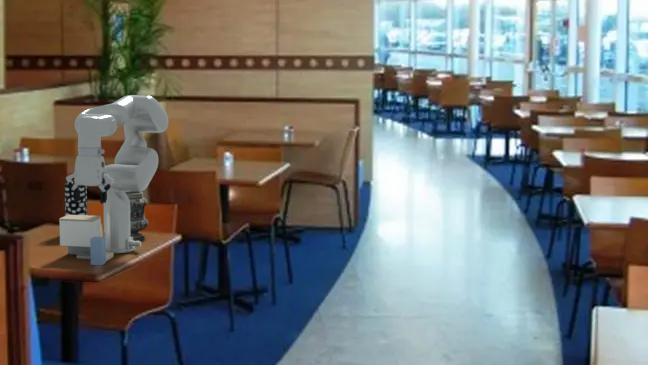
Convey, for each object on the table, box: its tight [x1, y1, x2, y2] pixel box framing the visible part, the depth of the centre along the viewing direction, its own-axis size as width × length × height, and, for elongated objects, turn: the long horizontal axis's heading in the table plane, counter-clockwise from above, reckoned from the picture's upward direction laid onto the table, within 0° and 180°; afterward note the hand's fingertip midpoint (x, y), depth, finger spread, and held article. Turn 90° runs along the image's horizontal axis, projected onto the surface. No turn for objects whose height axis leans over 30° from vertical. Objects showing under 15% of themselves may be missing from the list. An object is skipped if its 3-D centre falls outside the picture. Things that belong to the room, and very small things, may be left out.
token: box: [75, 252, 91, 260], centre depth 346 cm, size 5×5×2 cm
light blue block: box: [90, 236, 115, 266], centre depth 340 cm, size 4×14×9 cm, turn 172°
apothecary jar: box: [124, 191, 149, 241], centre depth 379 cm, size 12×12×18 cm
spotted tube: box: [64, 181, 88, 216], centre depth 385 cm, size 8×8×20 cm
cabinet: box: [58, 214, 102, 255], centre depth 346 cm, size 12×8×14 cm
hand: (90, 202), depth 334 cm, fingers open, 9 cm apart
